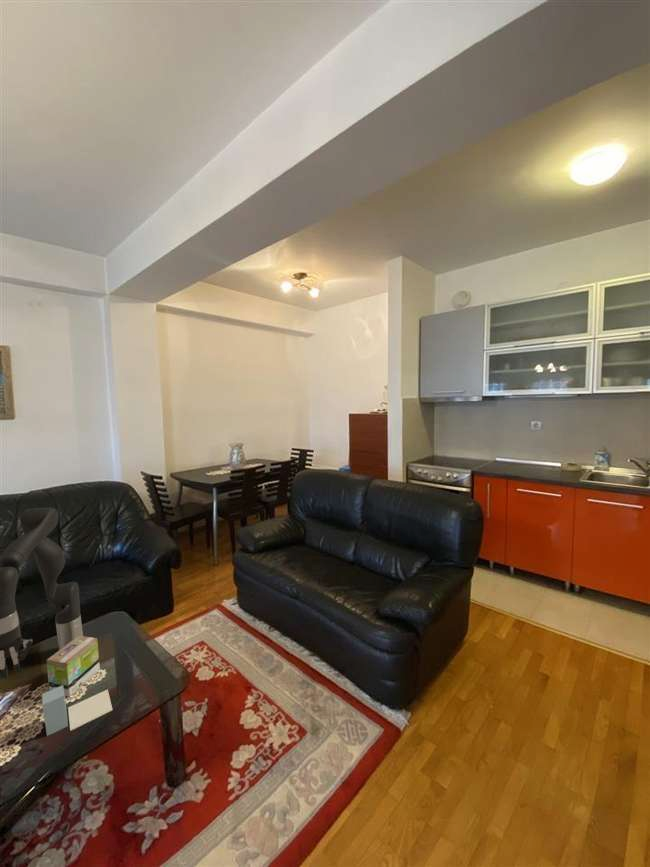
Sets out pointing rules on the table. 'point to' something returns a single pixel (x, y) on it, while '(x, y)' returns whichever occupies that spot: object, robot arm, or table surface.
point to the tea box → (73, 664)
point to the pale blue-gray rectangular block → (54, 710)
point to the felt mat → (89, 709)
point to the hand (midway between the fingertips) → (11, 675)
